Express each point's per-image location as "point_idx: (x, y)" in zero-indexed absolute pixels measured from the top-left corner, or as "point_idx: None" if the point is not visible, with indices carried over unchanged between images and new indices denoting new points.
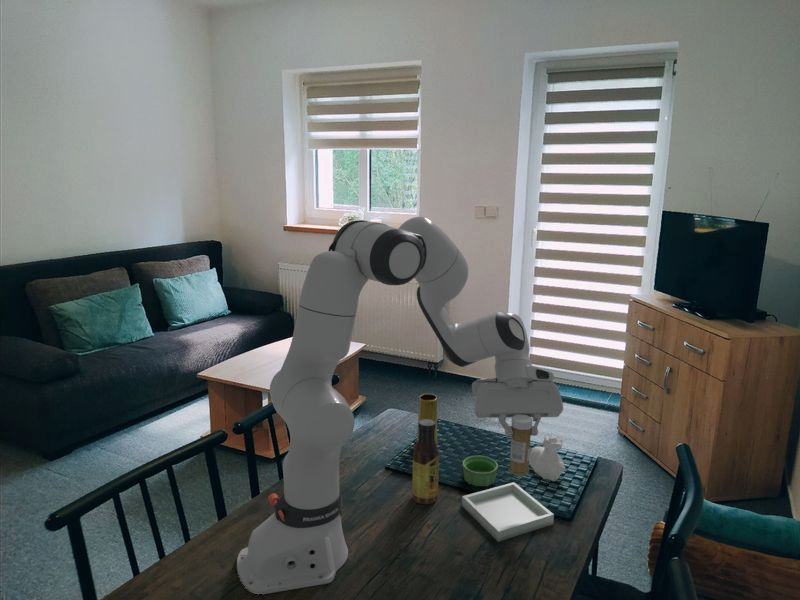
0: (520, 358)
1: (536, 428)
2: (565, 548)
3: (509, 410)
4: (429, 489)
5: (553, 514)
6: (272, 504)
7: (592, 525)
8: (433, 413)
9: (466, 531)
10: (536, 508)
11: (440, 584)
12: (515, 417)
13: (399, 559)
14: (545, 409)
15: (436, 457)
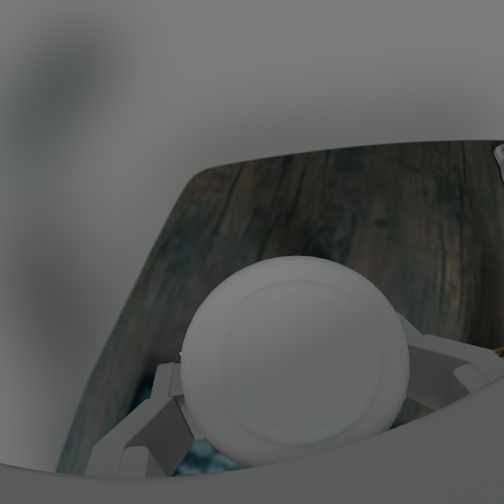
0: None
1: (161, 381)
2: (173, 275)
3: (473, 405)
4: (493, 351)
5: (180, 352)
6: None
7: (102, 362)
8: None
9: (383, 289)
10: None
11: (384, 157)
12: (378, 353)
13: (455, 196)
14: (10, 483)
15: None
